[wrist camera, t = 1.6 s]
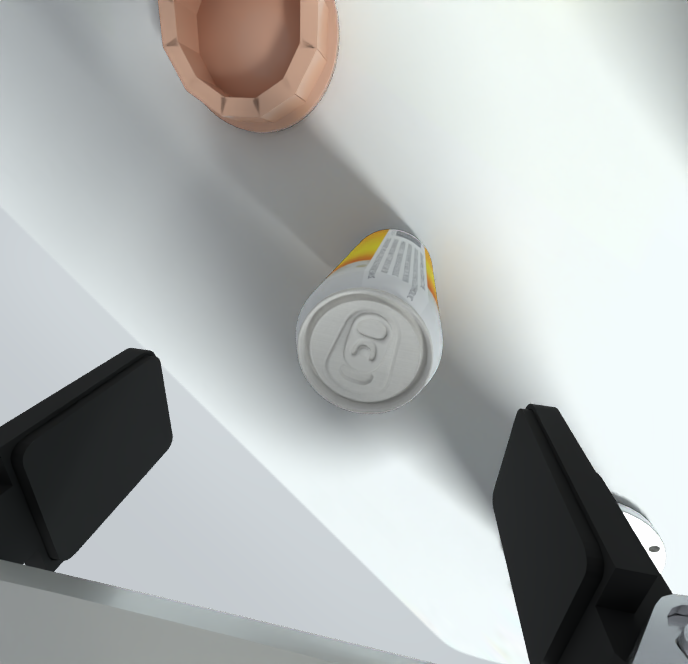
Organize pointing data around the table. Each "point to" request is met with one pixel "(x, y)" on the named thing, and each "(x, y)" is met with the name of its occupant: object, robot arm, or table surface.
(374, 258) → the beer can
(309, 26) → the jar base
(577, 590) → the robot arm
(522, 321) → the table surface
